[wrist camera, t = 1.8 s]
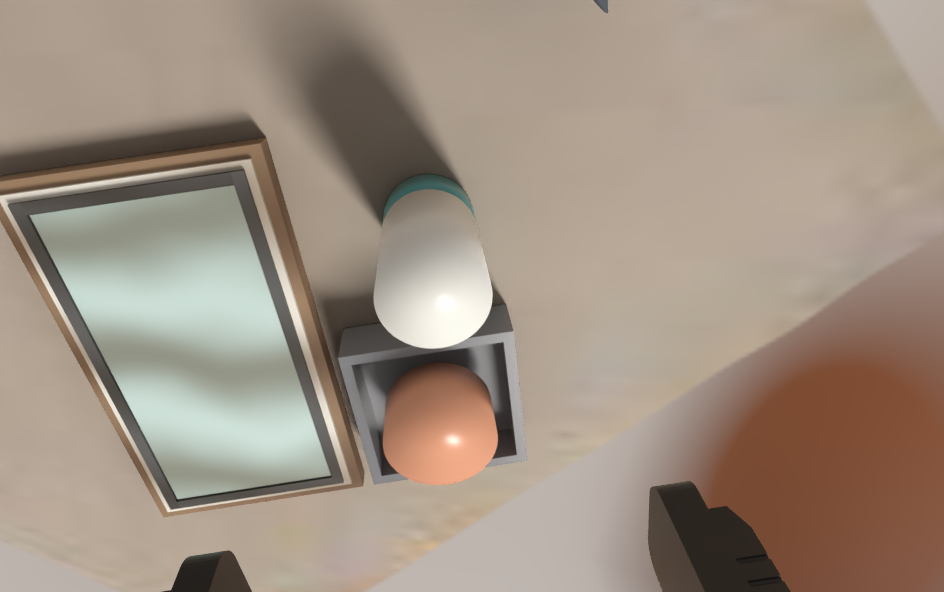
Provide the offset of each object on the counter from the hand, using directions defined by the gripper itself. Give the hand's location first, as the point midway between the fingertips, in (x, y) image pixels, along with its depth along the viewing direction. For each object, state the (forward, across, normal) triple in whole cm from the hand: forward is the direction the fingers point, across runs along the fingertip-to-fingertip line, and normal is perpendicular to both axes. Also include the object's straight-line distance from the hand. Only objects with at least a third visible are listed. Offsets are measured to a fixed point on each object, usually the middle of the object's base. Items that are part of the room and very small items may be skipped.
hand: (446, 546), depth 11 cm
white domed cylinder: (+17, 0, 0) cm, 17 cm away
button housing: (+17, +1, +9) cm, 19 cm away
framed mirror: (+17, +12, +5) cm, 21 cm away
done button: (+15, +1, +9) cm, 18 cm away
